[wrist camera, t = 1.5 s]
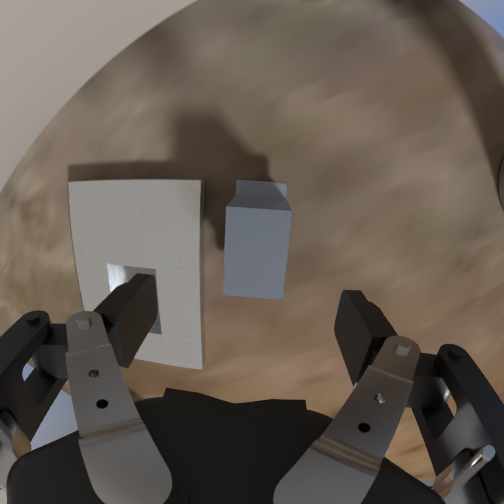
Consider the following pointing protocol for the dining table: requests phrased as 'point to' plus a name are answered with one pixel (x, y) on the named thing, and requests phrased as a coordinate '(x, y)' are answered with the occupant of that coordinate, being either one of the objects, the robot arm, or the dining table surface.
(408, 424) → the dining table surface
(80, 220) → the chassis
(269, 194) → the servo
